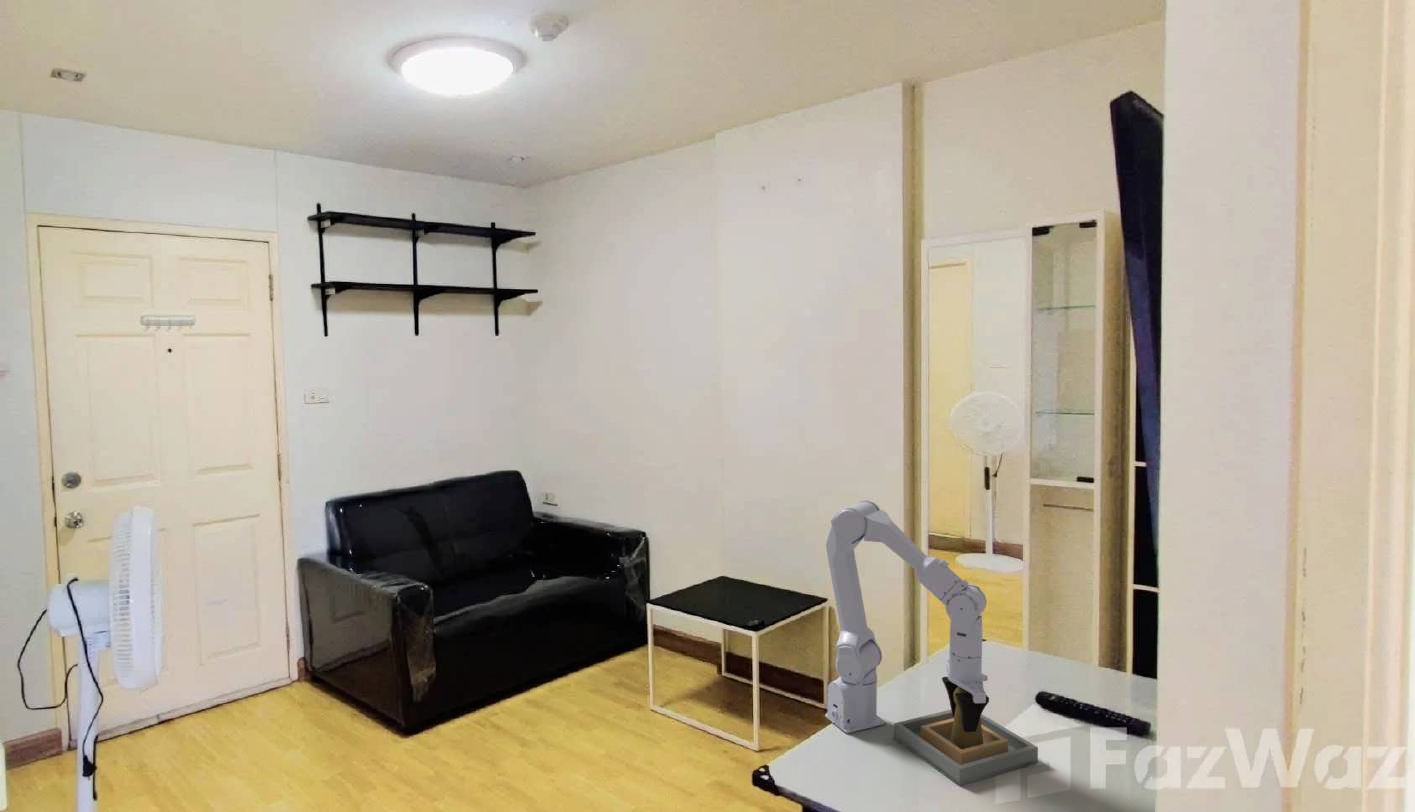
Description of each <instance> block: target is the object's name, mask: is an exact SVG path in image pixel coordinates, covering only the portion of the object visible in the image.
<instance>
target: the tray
mask: <svg viewBox="0 0 1415 812" xmlns="http://www.w3.org/2000/svg"><path fill="white" fill-rule="evenodd" d="M980 718H981V727H982V736H983V744H981V745H978V746H974V747H970V748H966V749H963V750H962V749H960V748H959V747H957V746H956V745H954V744H953V743H951V742H950V740H951V734H952V728H953V722H954V717H953V715H952V711H951V709H948V710H944V711H940V712H935V713H932V714H927V715H923V716H919V717H914V718H911V719H906V720H903V721H898V722H894V725H893V739H894V740H896V741H897V742H898V743H900V744H901V745H903V746H904V747H905V748H906V749H908V750H910V751H911V752H912V753H913V754H915V755H916V756H917V757H919V758H921V760H923V761H924V762H926V763H927V764H929V765H930V766H931V767H933V768H934V769H935V770H937V771H938V772H939V773H941V774H942V775H943V776H945V777H946V778H947V779H949V780H950V781H952V782H953V783H955V785H957V786H958V787H961V786H965V785H968V784H971V783H975V782H977V781H981V780H985V779H989V778H991V777H995V776H998V775H1001V774H1006V773H1009V772H1012V771H1016V770H1019V769H1022V768H1026V767H1030V766H1033V765H1036V764H1038V760H1039V759H1038V756H1039V755H1038V753H1039V747H1038V746H1036V745H1035V744H1033V743H1032V742H1030V741H1028V740H1027V739H1025V738H1023V737H1021V736H1020V735H1018V734H1017V733H1014V732H1013V731H1011V730H1009V729H1008V728H1006V727H1005V726H1003V725H1000V723H997V722H996V721H994V720H993V719H991V718H989V717H988V716H986V715H984V714H981V716H980Z"/></svg>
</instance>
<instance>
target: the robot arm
mask: <svg viewBox="0 0 1415 812" xmlns="http://www.w3.org/2000/svg"><path fill="white" fill-rule="evenodd" d="M830 523H831V526H830V530H829V533H828V536H827V539H826V543H825V549H826V554H827V561H828V565H829V567H828V568H829V571H830V572H829V573H830V576H831V577H830V579H831V582H832V589H833V595H834V599H835V600H834V601H835V606H836V610H837V617H838V622H839V628H840V633H839V637H838V639H837V642H836V645H835V647H836V652H837V653H836V658H835V663H834V664H835V670H836V672H837V674H838V675H839V677H838V678H836V679H835V680H832V681H830V682H829V684H828V686H827V693H826V694H827V698H826V699H827V702H826V704H827V705H826V706H827V710H826V713H825V715H824V717H825V718H827V719H828V720H829V721H830V722H832V723H833V724H834V723H835V724H834V725H835V726H837V728H839V729H840V730H842V731H843V732H844V733H846V734H849V733H854V732H858V731H862V730H863V731H864V730H866V729H870V728H874V727H875V728H876V727H879V726H883V725H886V720H885V719H883V718H882V717H880V716H878V715H877V706H878V705H877V702H878V701H877V700H878V697H877V695H878V674H877V667H878V666H880V664H881V662H882V659H883V654H882V649H881V647H880V645H879V644H878V642H877V641H876V638H875V634H874V631H872V629H871V628H869V627H868V623H867V617H866V611H865V606H864V600H863V595H862V588H861V583H860V578H859V572H858V567H857V561H856V555H855V549H856V548H857V546H859V544H861V543H860V542H862V541H864V542H873V543H875V542H876V543H883V545H885V546H886V547H887V548H888V549H890V550H891V551H892V552H893V553H895V554H896V555H897V556H898V557H899V558H900V559H902V561H904V562H906V563H907V564H908V565H909V566H910V567H911V568H913V569H914V570H915V576H916V580H917V581H918V582H919V583H920V584H921V585H923V587H924V588H925V589H927V590H928V591H929V592H930V593H931V594H932V595H933V596H934V597H935V598H936V599H937V600H938V601H940V602H941V604H943V605H945V612H946V615H947V616H948V618H949V619H950V620H949V621H950V624H949V625H950V626H949V654H948V655H949V658H948V660H947V659H946V661H945V670H946V671H947V676H943V677H942V678H941V681H942V682H943V684H944V687H945V690H946V692H947V695H948V701H949V705H950V710H951V711H952V715H953V717H954V716H955V710H956V704H955V702H954V691H955V690H956V688H957V687H961V688H963V689H964V690H966V693H955V696H956V698H957V700H958V703H959V706H960V710H961V716H962V725H963V729H964V731H965V732H976V729H977V726H978V723H979V719H980V716H981V714H982V713H983V711H984V710H985V708H986V706H987V705H988V704H989V702H990V697H989V696H988V695H987V692H986V691H985V689H984V682H987V681H988V677H989V676H987V674H986V673H984V672H983V671H982V669H983V668H982V667H983V666H982V663H983V661H982V659H983V615H982V613H983V612H984V611H985V610H986V608H987V597H986V595H985V593H984V592H983V591H982V589H981V588H980V586H978V585H976V584H973V583H969V582H968V581H967V580H966V579H964V580H963V579H962V578H961V577H960V576H959V575H957V573H955V571H953V570H952V569H951V568H950V567H949V562H948V561H947V560H946V559H942V560H941V559H940V558H939V557H937V556H936V557H935V556H933V557H932V556H931V557H930V556H928V555H926V554H925V553H924V552H923V551H922V549H920V548H919V546H917V545H916V544H915V543H914V542H913V540H911V538H909V537H908V535H906V534H905V533H904V532H903V531H902V530H901V529H900V527H899V526H898V525H896V523H895V522H893V520H892V519H891V517H890V515H889V514H888V512H886V511H884V510H883V509H881V508H880V507H879V506H878V505H877V504H876V503H875V502H873V501H870V500H860V501H858V502H857V503H856V504H853V505H850V506H847V507H843V508H841V509H840V510H838V512H836V514H835V515H834V516H833V517H832V518H831V519H830ZM982 715H983V714H982Z"/></svg>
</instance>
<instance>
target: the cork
mask: <svg viewBox="0 0 1415 812" xmlns="http://www.w3.org/2000/svg"><path fill="white" fill-rule="evenodd" d="M955 693H966V690H964V689H963V688H961V687H957V688H956V690H955V691H954V702H955V704H956V710H955V716H954V722H953V728H952V734H951V740H950V742H951V743H953V744H954V745H956V746H957V747H959V748H960V749H962V750H963V749H966V748H970V747H974V746H978V745H981V744H983V736H982V727H981V718H980V719H979V723H978V726H977V729H976V732H965V731H964V729H963V725H962V716H961V710H960V706H959V703H958V700H957V698H956V696H955Z"/></svg>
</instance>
